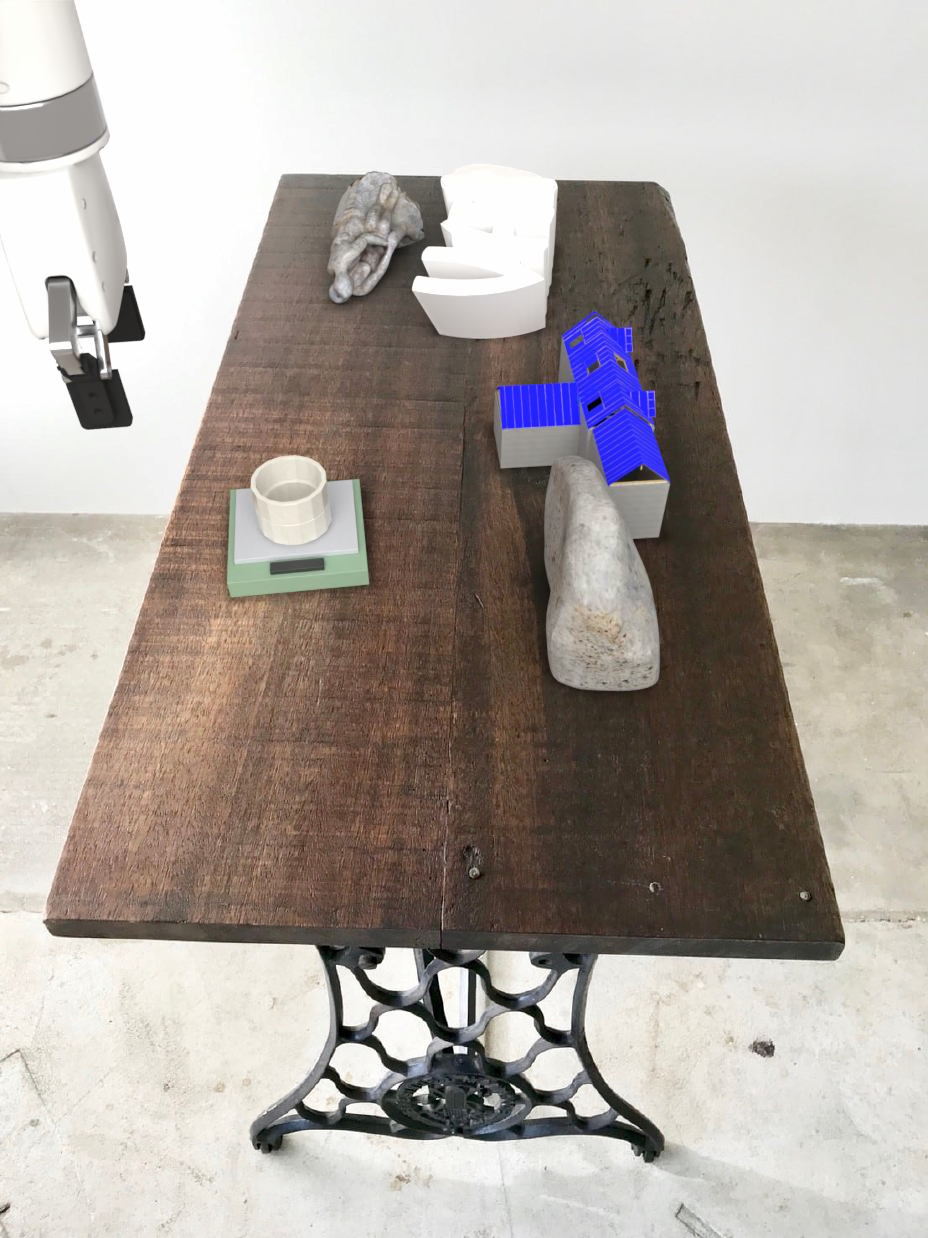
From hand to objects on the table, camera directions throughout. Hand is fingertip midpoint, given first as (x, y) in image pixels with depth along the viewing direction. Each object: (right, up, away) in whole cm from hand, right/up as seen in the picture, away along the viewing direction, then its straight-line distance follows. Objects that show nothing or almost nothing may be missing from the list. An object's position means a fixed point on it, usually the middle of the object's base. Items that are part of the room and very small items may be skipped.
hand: (116, 380), depth 65 cm
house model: (+35, +1, +39) cm, 52 cm away
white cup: (+7, -7, +28) cm, 30 cm away
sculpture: (+11, +29, +63) cm, 70 cm away
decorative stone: (+35, -17, +23) cm, 45 cm away
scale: (+7, -9, +30) cm, 32 cm away
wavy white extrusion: (+27, +28, +62) cm, 73 cm away
